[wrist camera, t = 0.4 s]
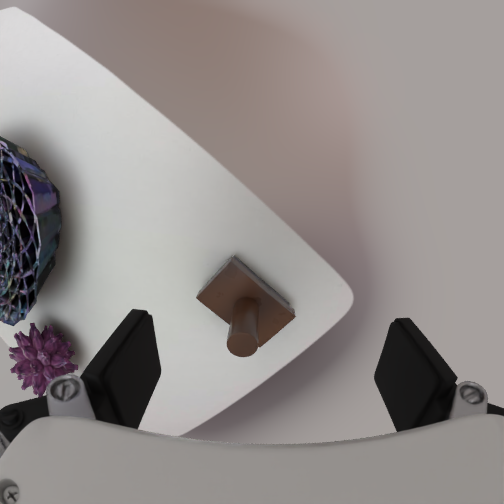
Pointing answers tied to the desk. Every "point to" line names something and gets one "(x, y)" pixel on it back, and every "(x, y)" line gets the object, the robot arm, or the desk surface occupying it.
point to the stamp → (245, 307)
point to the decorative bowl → (25, 231)
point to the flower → (41, 358)
